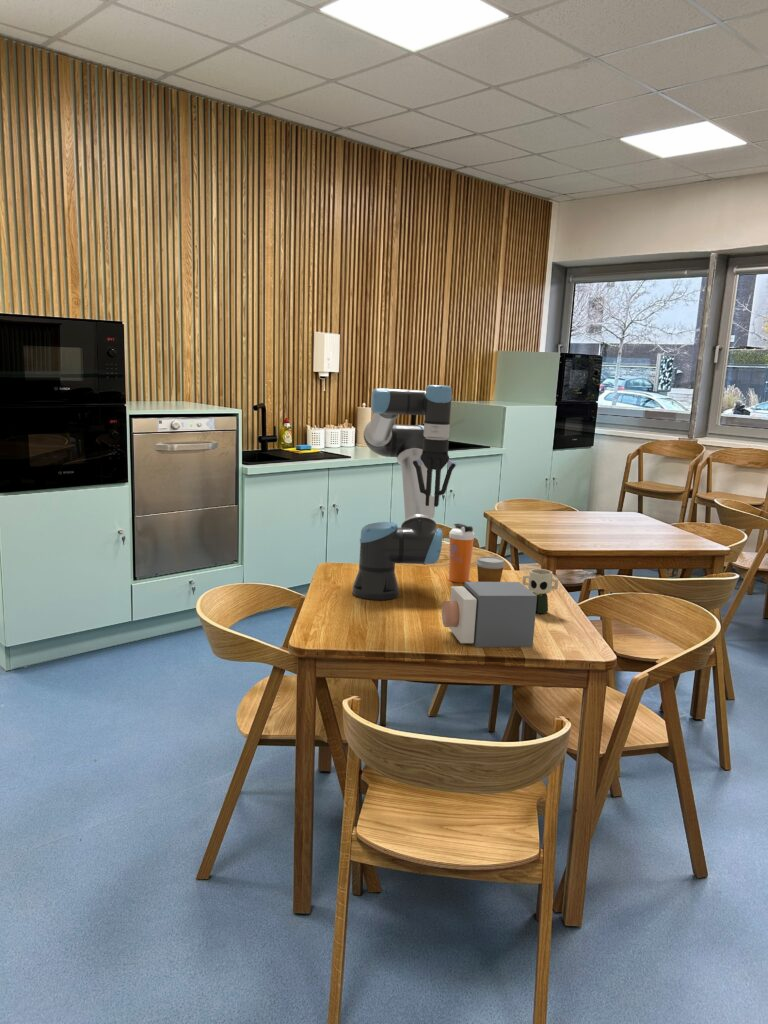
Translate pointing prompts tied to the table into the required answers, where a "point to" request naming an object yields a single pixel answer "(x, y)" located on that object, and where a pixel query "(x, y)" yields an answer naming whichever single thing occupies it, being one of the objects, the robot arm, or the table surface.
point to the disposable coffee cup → (489, 569)
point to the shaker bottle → (460, 553)
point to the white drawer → (460, 614)
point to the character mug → (540, 586)
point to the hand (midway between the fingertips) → (431, 516)
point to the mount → (503, 614)
